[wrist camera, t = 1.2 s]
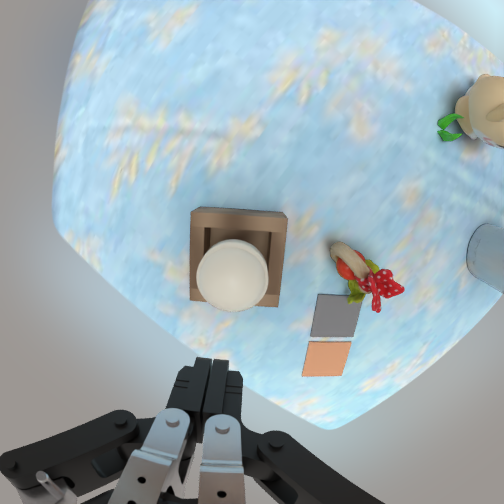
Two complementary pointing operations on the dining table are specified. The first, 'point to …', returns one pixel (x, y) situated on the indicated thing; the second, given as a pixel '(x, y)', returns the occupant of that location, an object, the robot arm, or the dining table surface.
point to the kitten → (479, 112)
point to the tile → (326, 358)
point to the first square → (335, 316)
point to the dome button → (232, 275)
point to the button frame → (241, 228)
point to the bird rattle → (363, 276)
